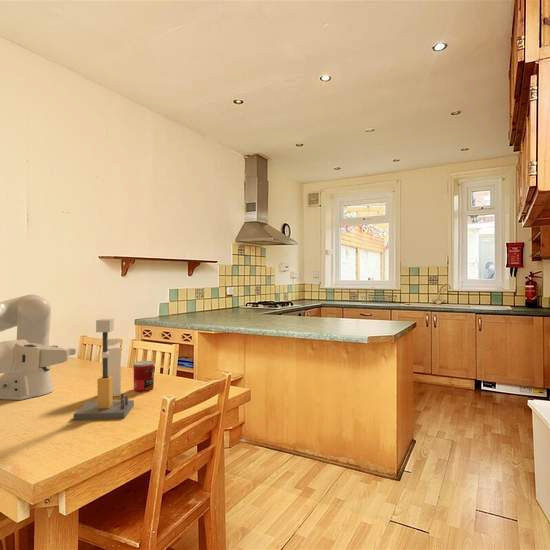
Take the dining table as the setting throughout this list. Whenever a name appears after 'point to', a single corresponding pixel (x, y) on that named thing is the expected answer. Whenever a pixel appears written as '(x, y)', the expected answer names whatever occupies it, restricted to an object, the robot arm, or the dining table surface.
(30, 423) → the dining table surface
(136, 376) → the canned food
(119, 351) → the milk
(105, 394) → the sleeve
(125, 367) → the dining table surface
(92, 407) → the stand
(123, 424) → the dining table surface
